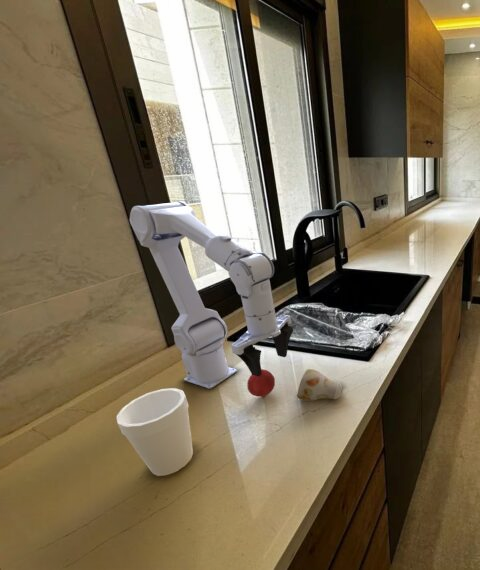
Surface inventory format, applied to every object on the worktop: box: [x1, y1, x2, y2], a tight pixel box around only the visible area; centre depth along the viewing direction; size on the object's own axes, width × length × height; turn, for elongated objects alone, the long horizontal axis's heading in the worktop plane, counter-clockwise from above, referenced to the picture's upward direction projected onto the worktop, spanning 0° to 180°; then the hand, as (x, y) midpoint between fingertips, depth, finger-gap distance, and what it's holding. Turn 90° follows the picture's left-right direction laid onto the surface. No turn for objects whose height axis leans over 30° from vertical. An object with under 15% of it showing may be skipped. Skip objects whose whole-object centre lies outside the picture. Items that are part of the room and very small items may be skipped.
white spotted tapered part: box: [296, 368, 343, 402], centre depth 77 cm, size 8×10×10 cm
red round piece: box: [246, 368, 276, 398], centre depth 77 cm, size 6×6×8 cm
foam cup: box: [116, 387, 194, 477], centre depth 59 cm, size 10×9×13 cm
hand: (270, 364), depth 74 cm, fingers open, 7 cm apart
